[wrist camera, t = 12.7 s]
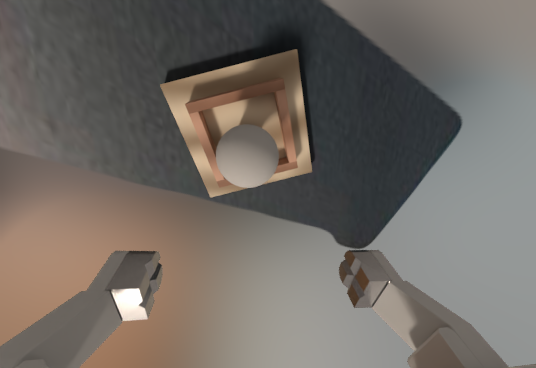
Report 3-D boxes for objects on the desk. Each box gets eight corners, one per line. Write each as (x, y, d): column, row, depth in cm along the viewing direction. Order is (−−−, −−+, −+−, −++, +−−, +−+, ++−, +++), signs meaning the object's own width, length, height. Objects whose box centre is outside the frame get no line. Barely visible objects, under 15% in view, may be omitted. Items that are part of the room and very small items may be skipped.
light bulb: (279, 135, 26) (298, 171, 17) (245, 164, 27) (248, 211, 19) (246, 98, 23) (249, 119, 15) (211, 133, 25) (196, 170, 16)
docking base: (164, 83, 23) (152, 86, 20) (293, 49, 23) (301, 47, 20) (211, 191, 31) (208, 205, 28) (309, 167, 30) (316, 178, 27)
